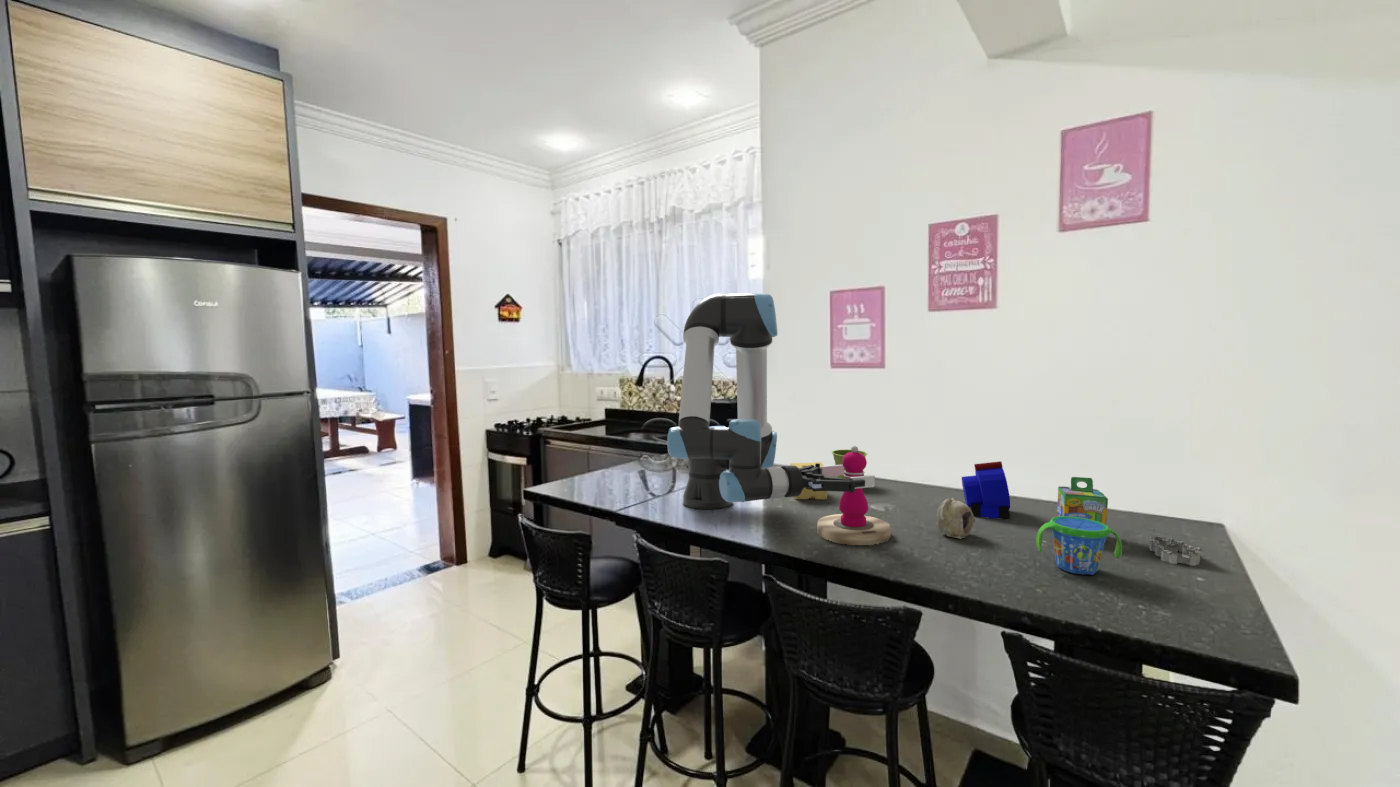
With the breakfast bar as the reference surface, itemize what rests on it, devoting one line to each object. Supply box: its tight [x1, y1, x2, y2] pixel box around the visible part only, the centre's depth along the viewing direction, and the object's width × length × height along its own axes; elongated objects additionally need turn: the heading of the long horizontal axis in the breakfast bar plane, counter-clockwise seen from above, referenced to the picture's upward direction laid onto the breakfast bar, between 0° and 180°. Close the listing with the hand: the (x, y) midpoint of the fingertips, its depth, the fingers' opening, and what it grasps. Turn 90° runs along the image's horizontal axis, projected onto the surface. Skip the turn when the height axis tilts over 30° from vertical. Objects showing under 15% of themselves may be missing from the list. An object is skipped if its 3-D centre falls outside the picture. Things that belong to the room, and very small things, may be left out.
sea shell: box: [935, 497, 977, 540], centre depth 148 cm, size 9×8×10 cm
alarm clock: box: [961, 461, 1011, 520], centre depth 168 cm, size 12×12×15 cm
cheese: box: [789, 461, 829, 500], centre depth 188 cm, size 10×11×10 cm
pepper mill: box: [838, 445, 869, 527], centre depth 149 cm, size 7×7×20 cm
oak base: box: [816, 513, 891, 546], centre depth 150 cm, size 18×18×3 cm
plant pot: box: [831, 449, 868, 478], centre depth 201 cm, size 12×12×11 cm
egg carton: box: [1148, 533, 1203, 567], centre depth 132 cm, size 11×8×4 cm
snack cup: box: [1035, 516, 1123, 576], centre depth 125 cm, size 16×10×10 cm
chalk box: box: [1056, 476, 1109, 525], centre depth 146 cm, size 9×9×15 cm
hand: (858, 475), depth 149 cm, fingers open, 13 cm apart
